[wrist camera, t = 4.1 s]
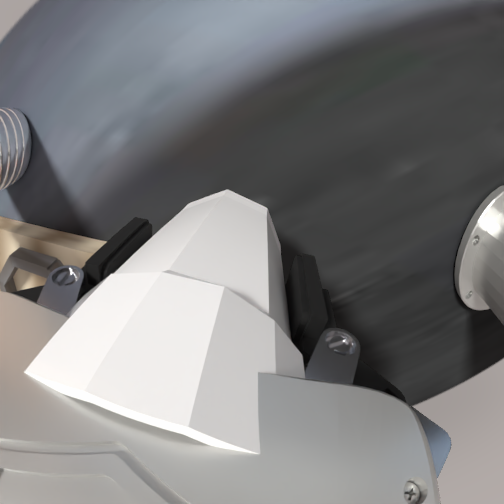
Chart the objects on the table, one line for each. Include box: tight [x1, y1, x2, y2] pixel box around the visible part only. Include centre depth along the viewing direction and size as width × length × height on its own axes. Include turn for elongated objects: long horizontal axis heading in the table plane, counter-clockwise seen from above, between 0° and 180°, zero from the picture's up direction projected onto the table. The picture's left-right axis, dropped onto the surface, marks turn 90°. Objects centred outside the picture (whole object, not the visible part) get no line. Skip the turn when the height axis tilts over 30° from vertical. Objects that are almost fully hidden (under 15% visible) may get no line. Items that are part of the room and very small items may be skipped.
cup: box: [24, 190, 305, 454], centre depth 9 cm, size 7×7×11 cm
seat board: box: [0, 216, 106, 293], centre depth 20 cm, size 20×14×4 cm
